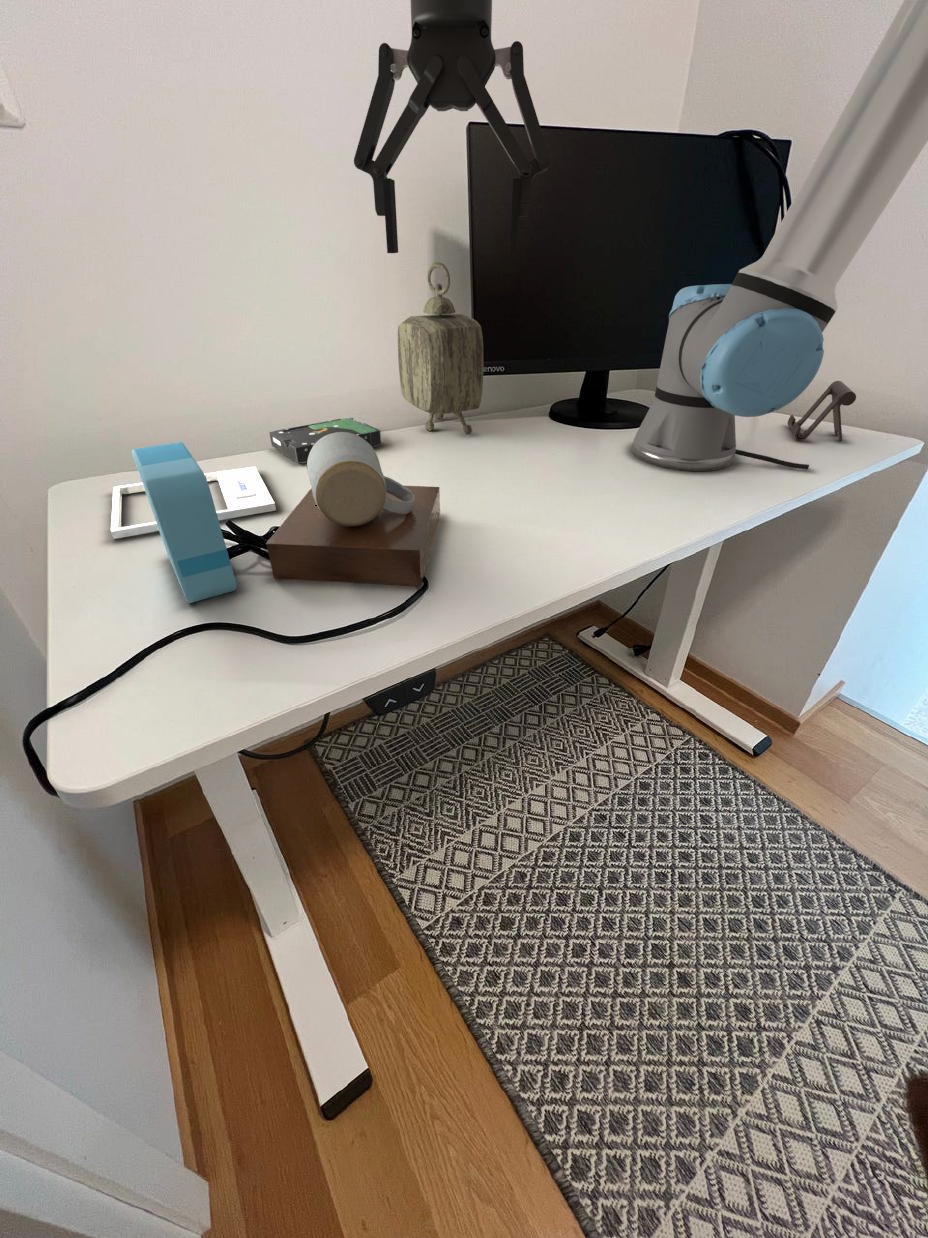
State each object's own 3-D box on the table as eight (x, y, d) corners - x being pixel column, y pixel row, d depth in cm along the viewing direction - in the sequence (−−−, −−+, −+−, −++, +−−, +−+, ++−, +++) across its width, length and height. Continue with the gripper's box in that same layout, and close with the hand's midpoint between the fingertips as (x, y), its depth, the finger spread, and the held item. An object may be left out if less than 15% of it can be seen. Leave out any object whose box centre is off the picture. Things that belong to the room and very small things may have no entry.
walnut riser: (440, 517, 67) (439, 486, 64) (421, 586, 54) (419, 550, 51) (320, 512, 68) (316, 482, 65) (273, 578, 55) (265, 543, 52)
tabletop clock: (481, 436, 94) (486, 264, 79) (435, 444, 90) (431, 265, 76) (442, 416, 104) (440, 260, 90) (399, 422, 100) (389, 260, 86)
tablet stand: (785, 426, 100) (802, 377, 95) (833, 430, 98) (852, 381, 93) (793, 440, 93) (811, 388, 88) (844, 445, 91) (866, 392, 86)
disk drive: (299, 466, 82) (383, 446, 89) (295, 448, 80) (381, 428, 87) (271, 449, 88) (351, 431, 96) (267, 431, 86) (349, 414, 94)
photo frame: (274, 501, 67) (110, 529, 61) (276, 510, 68) (113, 538, 61) (254, 465, 78) (112, 485, 71) (256, 472, 79) (116, 493, 72)
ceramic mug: (319, 535, 54) (308, 458, 49) (312, 503, 60) (302, 432, 56) (423, 524, 56) (421, 450, 52) (406, 494, 63) (403, 426, 58)
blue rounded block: (240, 595, 52) (206, 474, 45) (190, 610, 50) (146, 485, 43) (212, 546, 60) (180, 437, 53) (168, 556, 58) (128, 445, 51)
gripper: (302, -46, 47) (334, 253, 59) (596, -53, 45) (566, 255, 57) (327, -13, 53) (352, 251, 65) (587, -19, 51) (562, 253, 63)
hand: (452, 253), depth 61 cm, fingers open, 13 cm apart
